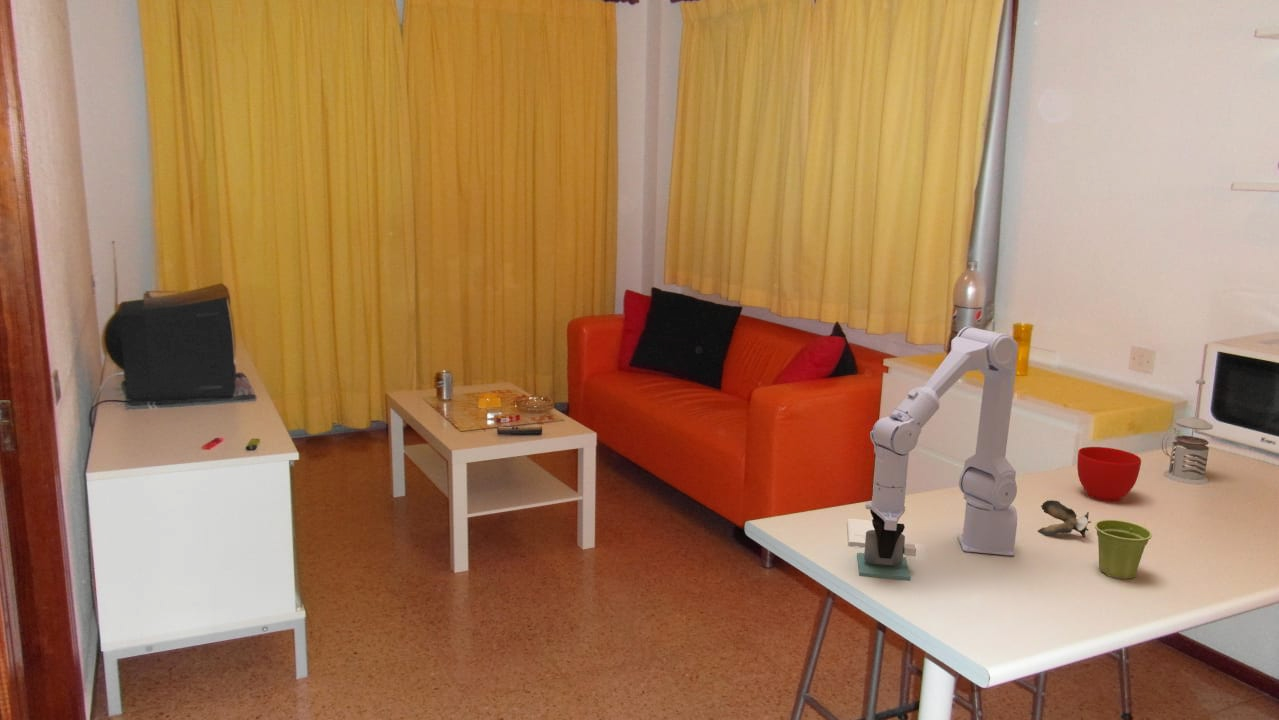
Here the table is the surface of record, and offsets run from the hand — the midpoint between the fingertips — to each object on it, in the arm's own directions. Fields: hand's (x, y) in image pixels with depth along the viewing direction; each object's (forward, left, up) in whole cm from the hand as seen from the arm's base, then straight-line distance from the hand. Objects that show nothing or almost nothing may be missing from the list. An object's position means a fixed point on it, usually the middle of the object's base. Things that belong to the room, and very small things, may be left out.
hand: (884, 552), depth 171 cm
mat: (0, 0, -3) cm, 3 cm away
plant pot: (-43, -8, -3) cm, 44 cm away
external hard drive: (+2, -15, -4) cm, 16 cm away
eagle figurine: (-38, -26, -3) cm, 46 cm away
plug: (0, 0, -2) cm, 2 cm away
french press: (-77, -72, -3) cm, 105 cm away
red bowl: (-54, -54, -3) cm, 76 cm away
